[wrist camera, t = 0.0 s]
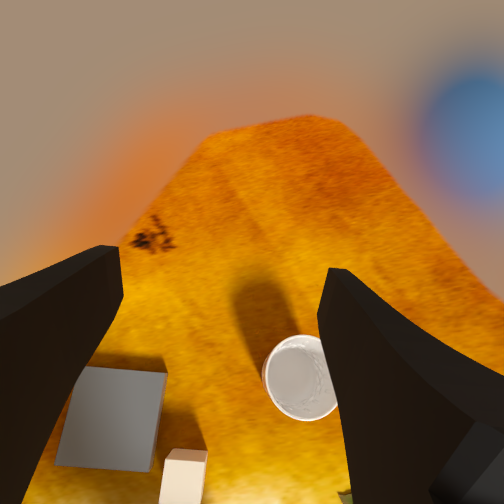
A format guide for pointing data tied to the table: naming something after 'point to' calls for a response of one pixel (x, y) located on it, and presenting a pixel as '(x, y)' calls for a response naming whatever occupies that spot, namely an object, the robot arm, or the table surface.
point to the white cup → (299, 378)
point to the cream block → (183, 477)
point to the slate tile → (113, 420)
